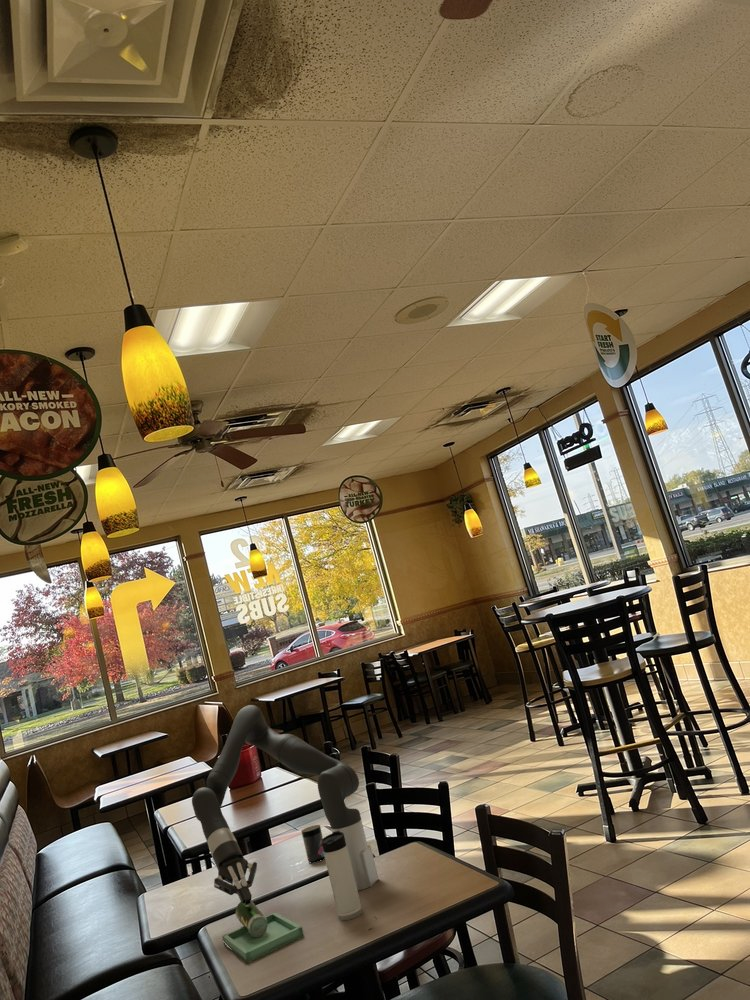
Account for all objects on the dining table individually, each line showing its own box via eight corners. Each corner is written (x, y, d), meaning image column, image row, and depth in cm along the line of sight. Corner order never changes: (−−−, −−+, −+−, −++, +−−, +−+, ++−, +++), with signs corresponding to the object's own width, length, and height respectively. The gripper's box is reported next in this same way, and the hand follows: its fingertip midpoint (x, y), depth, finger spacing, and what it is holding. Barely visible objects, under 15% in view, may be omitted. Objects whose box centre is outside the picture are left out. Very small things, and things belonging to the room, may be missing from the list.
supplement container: (318, 863, 244) (310, 831, 246) (304, 864, 248) (297, 832, 250) (331, 855, 249) (324, 824, 251) (317, 856, 253) (310, 825, 255)
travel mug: (366, 907, 190) (347, 828, 194) (357, 919, 184) (338, 837, 188) (345, 911, 192) (326, 832, 196) (335, 922, 186) (316, 841, 189)
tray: (224, 944, 191) (222, 935, 192) (276, 920, 199) (274, 912, 199) (247, 963, 174) (245, 953, 175) (303, 936, 182) (301, 926, 182)
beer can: (247, 894, 199) (262, 910, 188) (257, 910, 199) (272, 927, 189) (231, 908, 196) (244, 925, 186) (240, 924, 197) (254, 942, 186)
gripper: (245, 849, 211) (269, 900, 198) (201, 866, 204) (223, 921, 192) (247, 832, 207) (271, 883, 195) (202, 849, 201) (224, 904, 188)
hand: (247, 902), depth 193 cm, fingers closed
